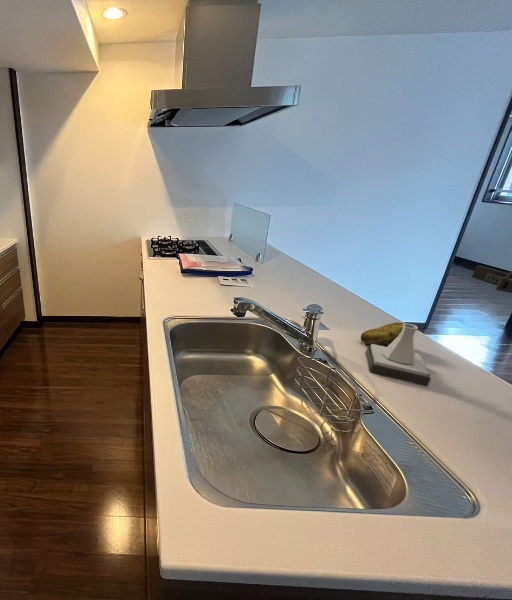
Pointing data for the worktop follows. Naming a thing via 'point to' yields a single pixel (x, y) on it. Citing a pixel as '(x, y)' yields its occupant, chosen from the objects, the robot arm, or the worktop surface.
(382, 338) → the potato
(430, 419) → the worktop surface
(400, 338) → the flask
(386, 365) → the scale
